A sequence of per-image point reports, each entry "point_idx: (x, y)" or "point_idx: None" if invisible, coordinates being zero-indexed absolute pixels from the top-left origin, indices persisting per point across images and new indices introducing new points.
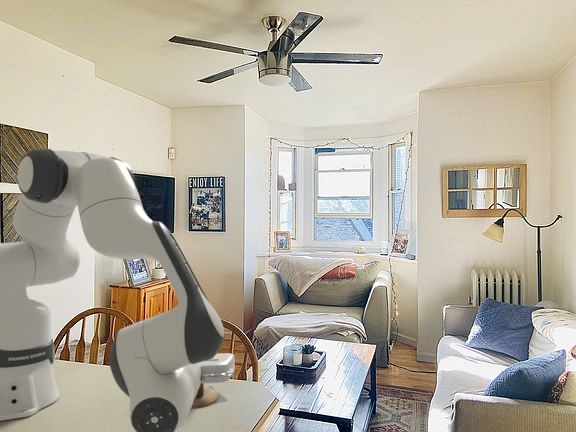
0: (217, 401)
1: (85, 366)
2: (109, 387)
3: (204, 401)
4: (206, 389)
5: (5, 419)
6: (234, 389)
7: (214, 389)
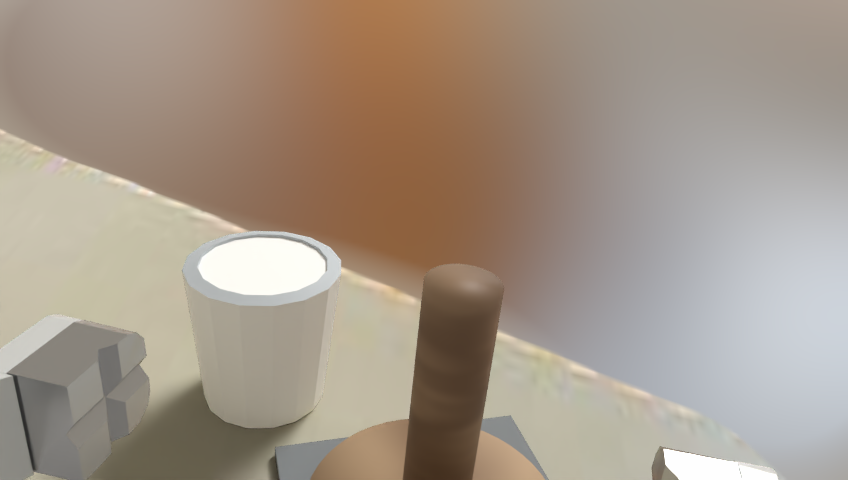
0: None
1: (43, 165)
2: (42, 293)
3: None
4: (485, 452)
5: None
6: (641, 473)
7: (532, 466)
